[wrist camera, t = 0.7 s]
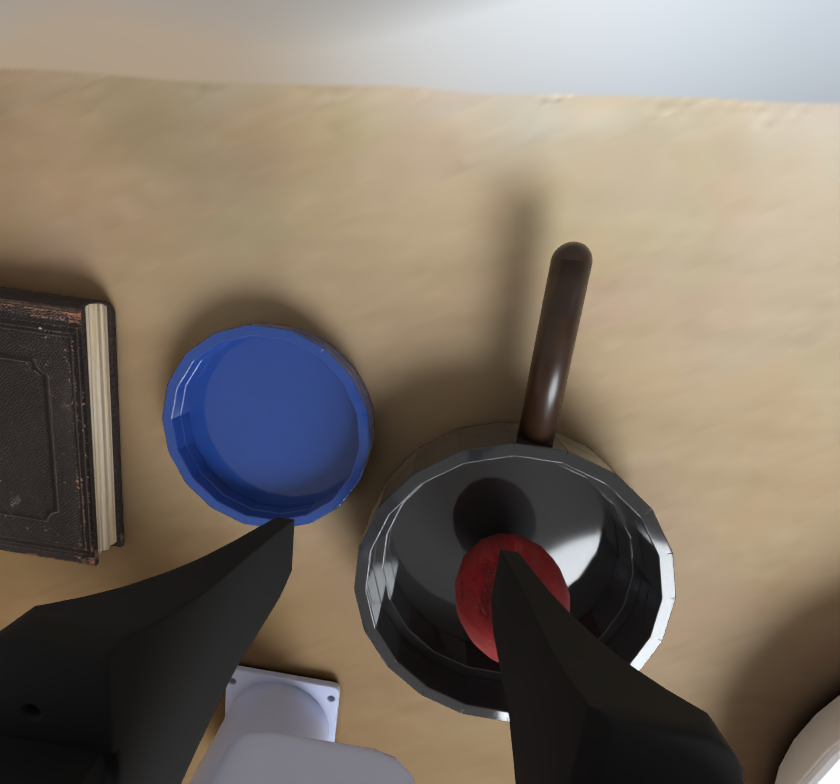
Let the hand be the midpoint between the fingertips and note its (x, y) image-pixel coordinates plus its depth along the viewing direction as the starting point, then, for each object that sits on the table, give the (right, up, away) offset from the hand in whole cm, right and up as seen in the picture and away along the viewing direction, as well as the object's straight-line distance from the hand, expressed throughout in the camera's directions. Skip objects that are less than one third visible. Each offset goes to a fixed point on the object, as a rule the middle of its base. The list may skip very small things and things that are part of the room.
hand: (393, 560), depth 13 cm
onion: (+6, -4, +11) cm, 13 cm away
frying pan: (+6, -4, +11) cm, 13 cm away
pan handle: (+7, +8, +6) cm, 12 cm away
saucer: (-8, +4, +10) cm, 13 cm away
